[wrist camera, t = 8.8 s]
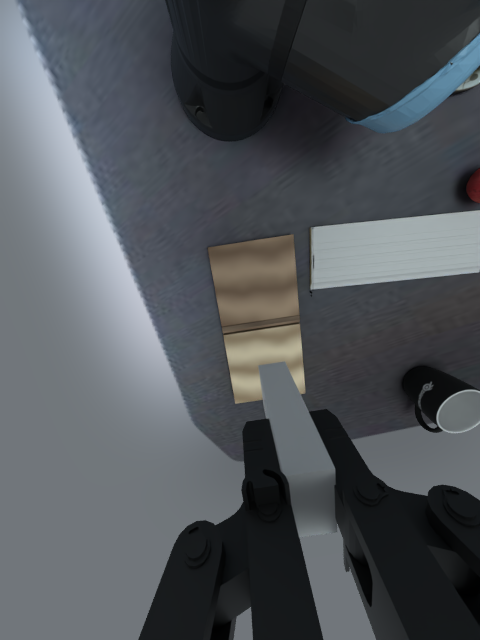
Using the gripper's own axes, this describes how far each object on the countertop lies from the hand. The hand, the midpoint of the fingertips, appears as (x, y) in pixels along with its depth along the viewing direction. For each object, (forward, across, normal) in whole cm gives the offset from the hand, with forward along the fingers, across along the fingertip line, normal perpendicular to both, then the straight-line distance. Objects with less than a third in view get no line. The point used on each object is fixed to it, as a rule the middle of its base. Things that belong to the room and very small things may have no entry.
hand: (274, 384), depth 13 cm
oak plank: (+30, +2, -15) cm, 34 cm away
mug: (+31, +33, -26) cm, 52 cm away
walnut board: (+30, +2, 0) cm, 30 cm away
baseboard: (+31, +27, +2) cm, 42 cm away
